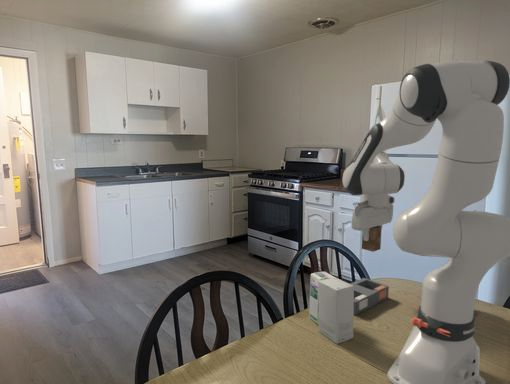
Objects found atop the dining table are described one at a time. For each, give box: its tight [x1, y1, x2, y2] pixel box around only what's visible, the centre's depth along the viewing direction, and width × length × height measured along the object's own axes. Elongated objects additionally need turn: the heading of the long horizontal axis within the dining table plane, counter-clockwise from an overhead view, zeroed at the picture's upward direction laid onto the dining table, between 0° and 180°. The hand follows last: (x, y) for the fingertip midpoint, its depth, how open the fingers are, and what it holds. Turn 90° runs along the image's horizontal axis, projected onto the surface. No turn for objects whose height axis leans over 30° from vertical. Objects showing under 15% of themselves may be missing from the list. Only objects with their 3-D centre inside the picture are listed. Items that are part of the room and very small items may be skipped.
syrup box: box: [308, 271, 334, 326], centre depth 109 cm, size 6×6×14 cm
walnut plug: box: [361, 226, 383, 252], centre depth 123 cm, size 4×4×8 cm
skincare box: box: [318, 276, 354, 345], centre depth 100 cm, size 8×7×16 cm
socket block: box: [349, 277, 390, 317], centre depth 122 cm, size 20×10×5 cm, turn 130°
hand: (371, 238), depth 123 cm, fingers closed on walnut plug, 4 cm apart
